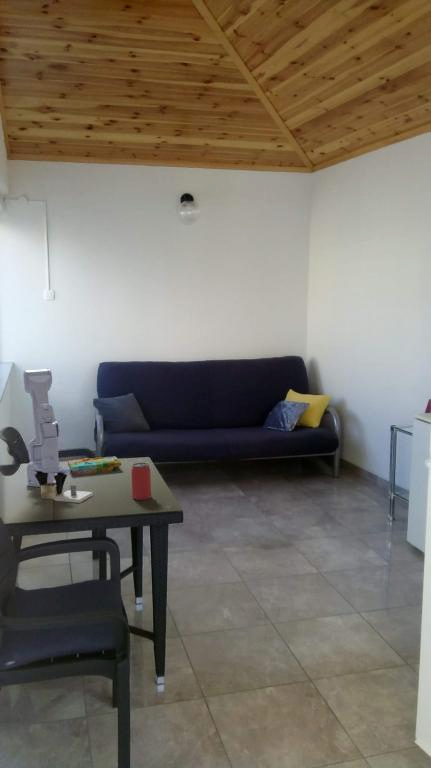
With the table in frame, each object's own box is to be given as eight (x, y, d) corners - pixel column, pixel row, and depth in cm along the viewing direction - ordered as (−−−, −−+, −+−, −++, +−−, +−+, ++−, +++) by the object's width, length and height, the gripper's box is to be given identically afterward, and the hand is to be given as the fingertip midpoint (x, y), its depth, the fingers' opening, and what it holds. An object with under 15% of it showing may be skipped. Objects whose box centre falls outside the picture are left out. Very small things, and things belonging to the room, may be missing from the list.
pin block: (54, 500, 234) (53, 487, 234) (68, 493, 243) (67, 480, 242) (79, 502, 231) (78, 489, 230) (92, 495, 239) (92, 482, 239)
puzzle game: (67, 459, 277) (115, 454, 283) (68, 470, 277) (115, 465, 284) (71, 465, 266) (121, 460, 272) (72, 477, 266) (121, 471, 273)
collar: (41, 498, 237) (40, 485, 237) (50, 493, 243) (49, 481, 242) (54, 499, 236) (54, 487, 235) (63, 494, 241) (62, 482, 240)
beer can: (151, 499, 232) (150, 466, 231) (132, 501, 231) (131, 467, 230) (150, 494, 239) (149, 461, 237) (132, 495, 238) (130, 462, 236)
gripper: (26, 457, 236) (28, 494, 238) (61, 459, 231) (63, 497, 233) (37, 452, 242) (39, 488, 244) (72, 454, 238) (74, 491, 239)
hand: (52, 492), depth 239 cm, fingers closed on collar, 6 cm apart
